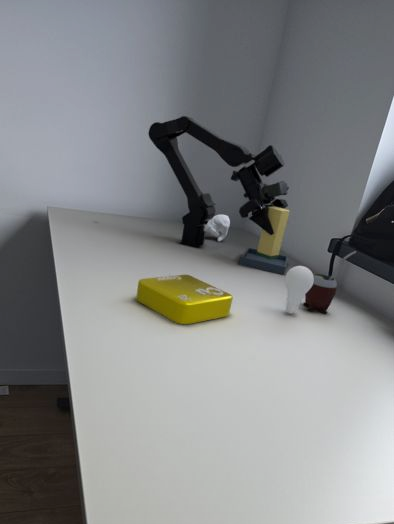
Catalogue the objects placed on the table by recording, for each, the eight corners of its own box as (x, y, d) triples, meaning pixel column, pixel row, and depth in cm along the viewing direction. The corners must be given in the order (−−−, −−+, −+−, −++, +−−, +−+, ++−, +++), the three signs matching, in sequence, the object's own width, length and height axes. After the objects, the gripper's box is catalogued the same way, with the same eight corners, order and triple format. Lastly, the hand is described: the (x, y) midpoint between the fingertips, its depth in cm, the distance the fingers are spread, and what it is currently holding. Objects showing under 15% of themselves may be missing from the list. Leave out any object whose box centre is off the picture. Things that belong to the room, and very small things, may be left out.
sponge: (255, 254, 145) (267, 206, 139) (264, 253, 149) (275, 206, 143) (269, 259, 143) (282, 210, 137) (277, 258, 146) (290, 210, 141)
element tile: (184, 291, 112) (187, 271, 110) (232, 316, 103) (237, 294, 101) (131, 298, 101) (134, 276, 100) (180, 326, 93) (185, 302, 91)
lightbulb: (305, 313, 113) (318, 267, 109) (301, 321, 108) (315, 272, 103) (279, 306, 114) (291, 260, 110) (274, 313, 109) (287, 265, 105)
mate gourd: (294, 306, 117) (311, 243, 111) (311, 301, 122) (328, 242, 116) (322, 317, 113) (341, 253, 106) (338, 312, 118) (357, 251, 112)
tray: (239, 264, 144) (241, 256, 143) (246, 254, 158) (247, 247, 157) (283, 274, 142) (285, 267, 141) (286, 263, 156) (288, 256, 155)
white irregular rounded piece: (231, 217, 164) (195, 213, 164) (228, 242, 167) (193, 239, 167) (230, 214, 170) (195, 210, 170) (227, 238, 173) (193, 235, 173)
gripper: (258, 167, 131) (283, 220, 130) (290, 171, 145) (313, 218, 144) (227, 191, 138) (252, 241, 137) (261, 192, 152) (283, 237, 151)
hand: (276, 234), depth 142 cm, fingers closed on sponge, 5 cm apart
